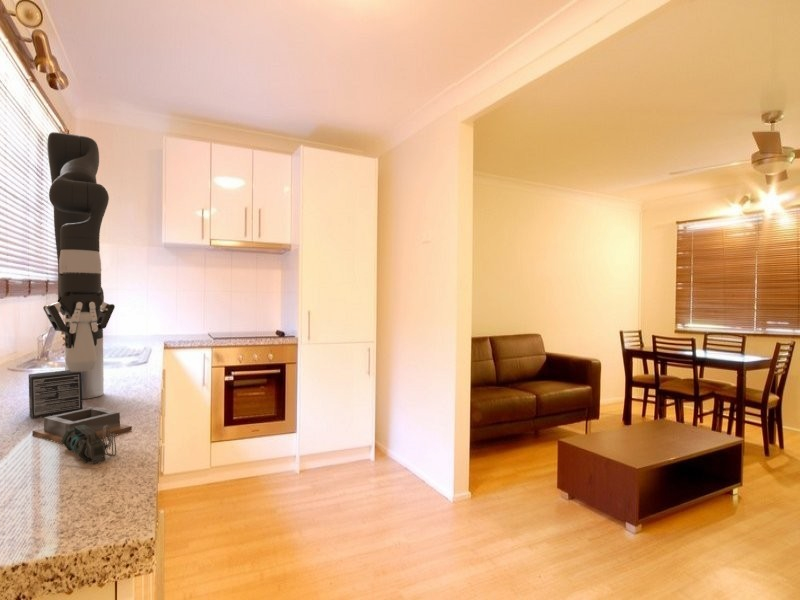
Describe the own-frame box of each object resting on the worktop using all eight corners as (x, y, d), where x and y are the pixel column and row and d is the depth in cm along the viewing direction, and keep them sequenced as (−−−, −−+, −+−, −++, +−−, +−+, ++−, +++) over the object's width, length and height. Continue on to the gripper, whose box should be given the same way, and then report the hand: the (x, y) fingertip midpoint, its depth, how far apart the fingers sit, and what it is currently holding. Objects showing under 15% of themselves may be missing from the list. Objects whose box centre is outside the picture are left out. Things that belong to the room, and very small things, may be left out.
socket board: (32, 435, 97) (32, 416, 97) (91, 420, 107) (91, 404, 107) (72, 447, 89) (72, 427, 89) (131, 430, 100) (131, 413, 100)
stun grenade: (62, 453, 88) (84, 471, 79) (58, 422, 87) (80, 437, 79) (98, 442, 93) (123, 458, 84) (94, 413, 92) (119, 426, 83)
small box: (79, 406, 121) (78, 368, 120) (83, 411, 116) (83, 371, 116) (28, 413, 113) (28, 373, 113) (31, 419, 109) (30, 376, 108)
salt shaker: (80, 372, 94) (79, 312, 94) (58, 371, 96) (57, 312, 95) (103, 368, 100) (103, 311, 100) (82, 367, 101) (82, 311, 101)
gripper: (104, 273, 106) (104, 345, 106) (34, 270, 93) (34, 352, 93) (123, 272, 102) (123, 347, 102) (52, 269, 90) (53, 354, 90)
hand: (81, 349), depth 98 cm, fingers closed on salt shaker, 3 cm apart
